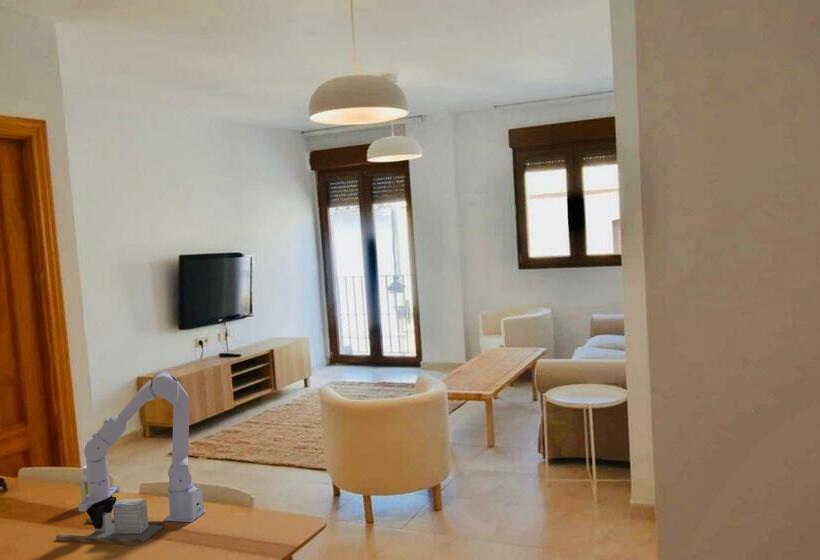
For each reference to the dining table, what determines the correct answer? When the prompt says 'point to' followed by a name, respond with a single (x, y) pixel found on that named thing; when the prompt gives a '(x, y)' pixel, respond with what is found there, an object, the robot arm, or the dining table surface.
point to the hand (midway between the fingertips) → (102, 525)
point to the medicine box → (130, 516)
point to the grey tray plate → (109, 532)
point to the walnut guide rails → (103, 539)
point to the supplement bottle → (84, 484)
